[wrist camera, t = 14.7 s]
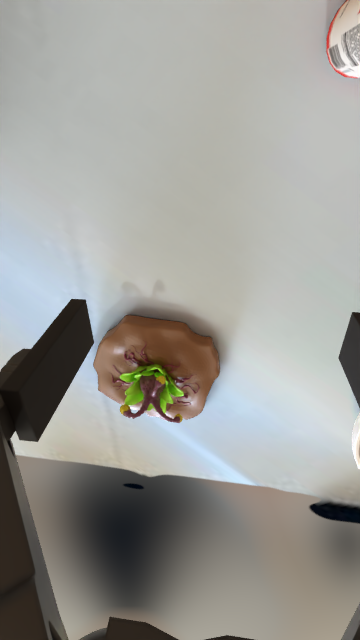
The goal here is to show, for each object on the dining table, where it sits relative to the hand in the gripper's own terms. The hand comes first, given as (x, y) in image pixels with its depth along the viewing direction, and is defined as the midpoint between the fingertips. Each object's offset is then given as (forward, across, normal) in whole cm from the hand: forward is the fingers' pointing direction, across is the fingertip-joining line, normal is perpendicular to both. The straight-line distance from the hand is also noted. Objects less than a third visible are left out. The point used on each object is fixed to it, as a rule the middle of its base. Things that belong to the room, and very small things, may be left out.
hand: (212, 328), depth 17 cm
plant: (+28, -10, -27) cm, 40 cm away
